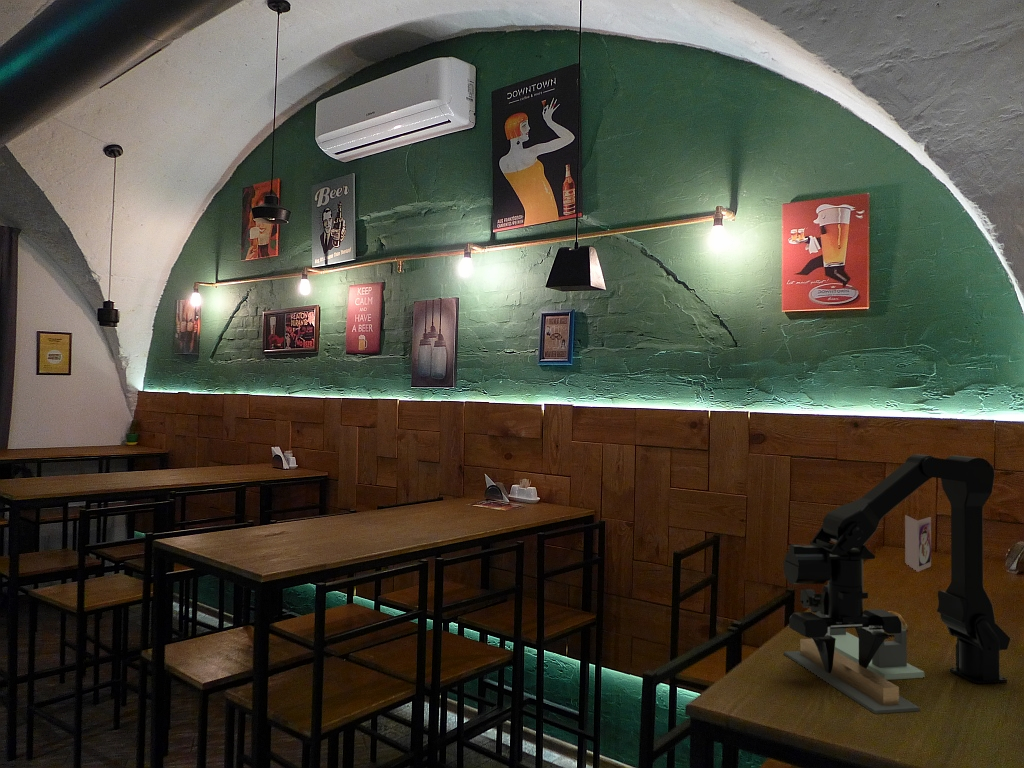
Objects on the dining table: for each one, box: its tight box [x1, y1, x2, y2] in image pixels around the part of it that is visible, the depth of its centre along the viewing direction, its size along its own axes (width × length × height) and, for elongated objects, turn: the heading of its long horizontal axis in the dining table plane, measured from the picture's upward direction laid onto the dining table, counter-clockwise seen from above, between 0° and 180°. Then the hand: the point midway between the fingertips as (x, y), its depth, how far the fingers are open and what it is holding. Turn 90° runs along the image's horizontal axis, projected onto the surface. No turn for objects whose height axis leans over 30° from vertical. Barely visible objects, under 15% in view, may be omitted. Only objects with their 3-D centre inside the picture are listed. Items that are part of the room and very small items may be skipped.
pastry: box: [884, 610, 909, 636], centre depth 156 cm, size 9×7×4 cm
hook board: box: [815, 611, 925, 681], centre depth 142 cm, size 26×8×8 cm, turn 9°
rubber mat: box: [783, 650, 921, 715], centre depth 128 cm, size 27×8×1 cm, turn 9°
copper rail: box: [799, 638, 900, 706], centre depth 128 cm, size 24×3×3 cm, turn 9°
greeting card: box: [904, 514, 932, 573], centre depth 218 cm, size 11×7×15 cm, turn 132°
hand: (845, 671), depth 128 cm, fingers open, 6 cm apart
